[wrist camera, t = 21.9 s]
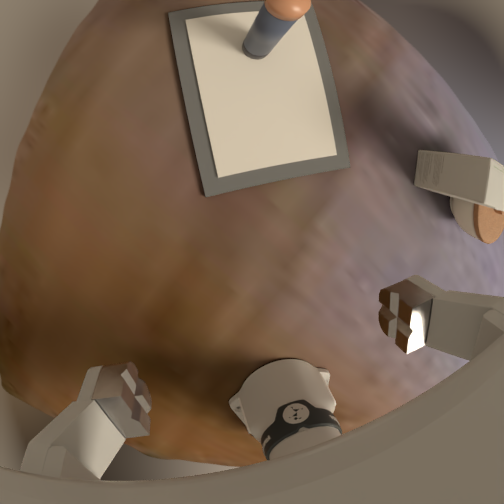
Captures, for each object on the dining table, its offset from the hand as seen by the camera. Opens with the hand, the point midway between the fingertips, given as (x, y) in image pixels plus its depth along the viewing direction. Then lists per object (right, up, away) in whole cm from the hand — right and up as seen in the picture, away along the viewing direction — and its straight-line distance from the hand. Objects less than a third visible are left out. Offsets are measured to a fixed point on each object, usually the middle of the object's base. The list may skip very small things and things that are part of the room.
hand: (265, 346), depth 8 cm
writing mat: (+1, +24, +24) cm, 34 cm away
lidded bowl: (+40, +13, +36) cm, 55 cm away
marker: (0, +28, +21) cm, 35 cm away
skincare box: (+30, +16, +33) cm, 47 cm away
